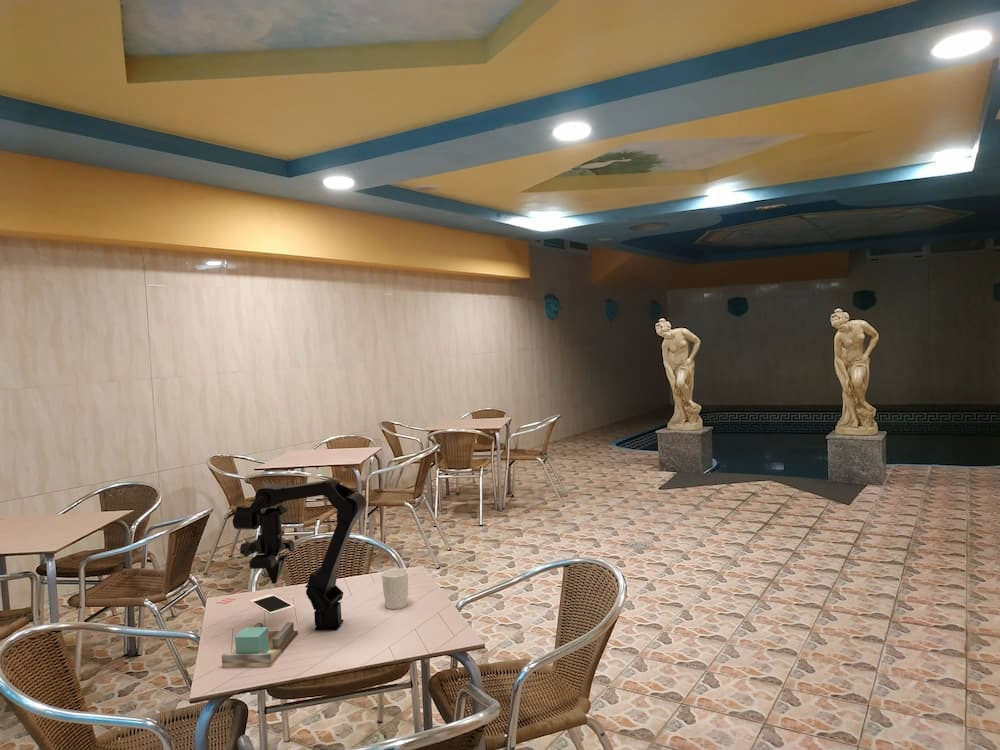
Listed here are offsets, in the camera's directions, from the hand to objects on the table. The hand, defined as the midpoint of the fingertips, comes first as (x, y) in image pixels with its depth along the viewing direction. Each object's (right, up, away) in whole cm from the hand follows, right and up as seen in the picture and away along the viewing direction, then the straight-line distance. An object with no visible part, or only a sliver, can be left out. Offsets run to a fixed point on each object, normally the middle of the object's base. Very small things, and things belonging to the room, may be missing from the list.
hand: (274, 583), depth 199 cm
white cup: (+33, -10, +11) cm, 37 cm away
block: (+2, -12, -22) cm, 25 cm away
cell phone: (-6, -12, +17) cm, 22 cm away
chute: (+2, -13, -16) cm, 21 cm away
